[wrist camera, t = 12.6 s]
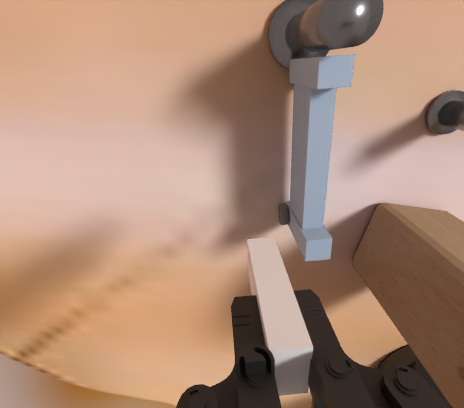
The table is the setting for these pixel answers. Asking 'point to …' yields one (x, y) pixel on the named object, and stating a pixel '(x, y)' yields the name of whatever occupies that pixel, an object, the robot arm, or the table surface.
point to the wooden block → (420, 285)
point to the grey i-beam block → (313, 149)
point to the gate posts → (346, 44)
